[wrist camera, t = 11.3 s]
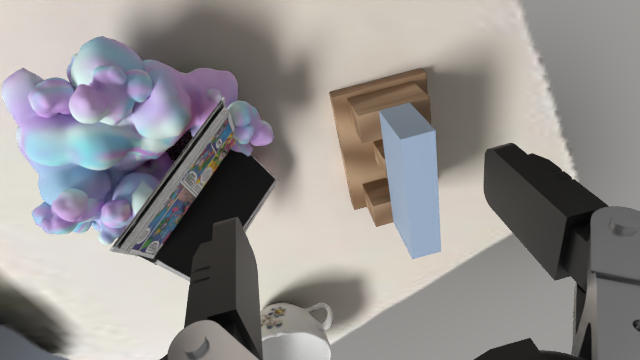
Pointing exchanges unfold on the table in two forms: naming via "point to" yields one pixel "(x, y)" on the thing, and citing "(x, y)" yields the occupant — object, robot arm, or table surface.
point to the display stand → (373, 135)
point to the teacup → (294, 332)
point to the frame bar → (412, 177)
